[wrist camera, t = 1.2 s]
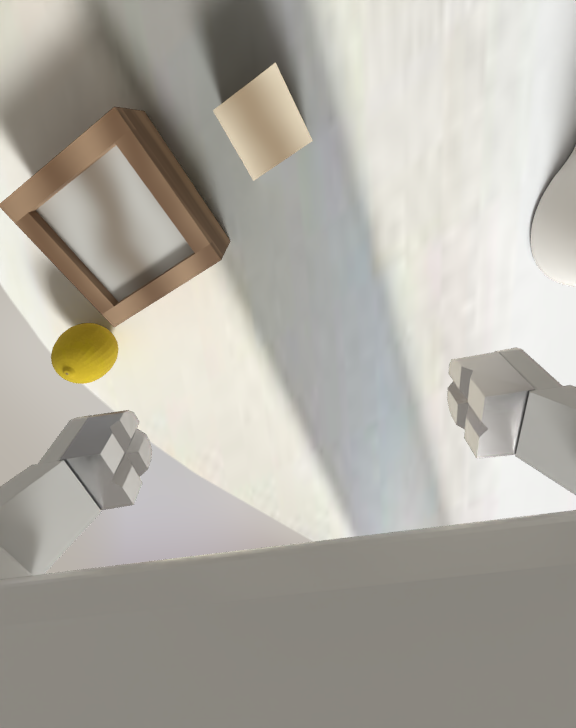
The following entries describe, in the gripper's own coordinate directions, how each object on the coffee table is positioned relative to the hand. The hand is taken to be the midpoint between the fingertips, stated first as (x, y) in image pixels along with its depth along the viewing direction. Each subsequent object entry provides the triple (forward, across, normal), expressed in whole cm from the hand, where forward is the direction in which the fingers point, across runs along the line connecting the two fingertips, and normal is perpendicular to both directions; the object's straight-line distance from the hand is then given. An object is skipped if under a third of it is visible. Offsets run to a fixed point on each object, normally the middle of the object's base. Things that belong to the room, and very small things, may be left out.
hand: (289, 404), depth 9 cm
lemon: (+29, +22, +9) cm, 38 cm away
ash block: (+29, 0, -6) cm, 30 cm away
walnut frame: (+29, +13, -2) cm, 32 cm away
